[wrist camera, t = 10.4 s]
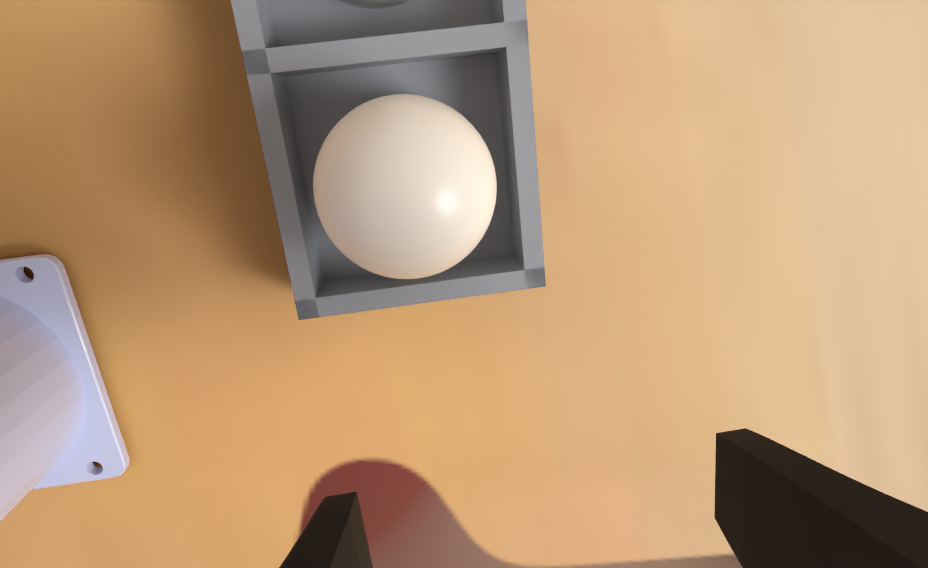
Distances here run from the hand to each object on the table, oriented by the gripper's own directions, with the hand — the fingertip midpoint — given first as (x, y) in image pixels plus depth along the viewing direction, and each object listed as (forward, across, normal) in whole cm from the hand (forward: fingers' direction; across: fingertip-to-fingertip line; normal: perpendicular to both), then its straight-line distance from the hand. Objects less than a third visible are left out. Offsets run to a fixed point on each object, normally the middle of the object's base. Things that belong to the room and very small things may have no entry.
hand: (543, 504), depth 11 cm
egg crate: (+9, +2, -13) cm, 16 cm away
